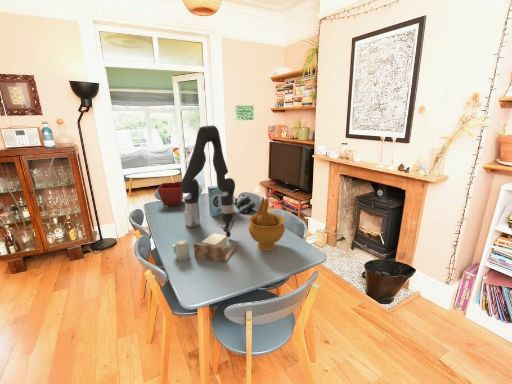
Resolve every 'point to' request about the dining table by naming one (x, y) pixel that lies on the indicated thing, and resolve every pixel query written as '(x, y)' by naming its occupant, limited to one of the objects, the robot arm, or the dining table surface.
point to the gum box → (215, 200)
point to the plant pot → (171, 193)
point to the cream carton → (216, 240)
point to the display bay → (212, 252)
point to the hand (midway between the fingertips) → (228, 236)
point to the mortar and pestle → (266, 227)
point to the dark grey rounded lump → (244, 204)
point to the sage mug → (181, 250)
